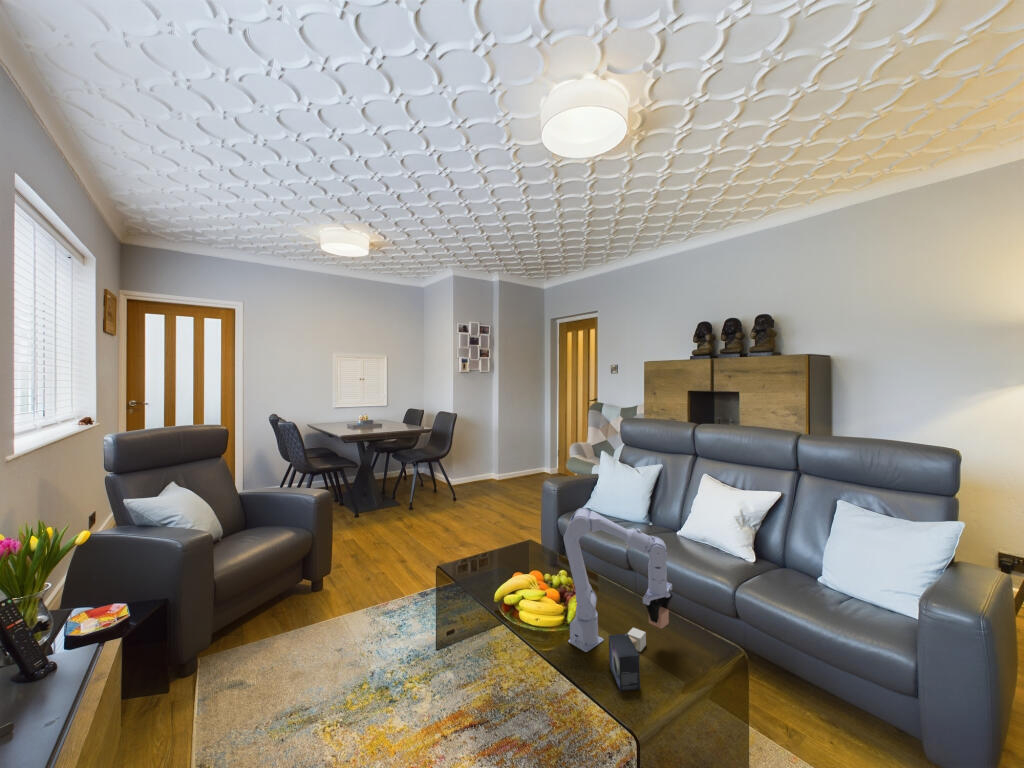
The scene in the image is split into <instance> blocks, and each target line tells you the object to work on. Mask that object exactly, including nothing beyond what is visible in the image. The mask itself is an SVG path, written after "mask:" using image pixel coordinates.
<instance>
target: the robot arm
mask: <svg viewBox="0 0 1024 768" xmlns="http://www.w3.org/2000/svg"><path fill="white" fill-rule="evenodd" d="M590 531H591V533H595V532H599V531H603V532H605V533H608V534H610V535H613V536H615V537H618V538H619V539H622V540H624V543H625V545H627V546H629V547H631V548H632V549H634V550H637V551H639V552H641V553H642V554H646V555H647V556H648V561H647V563H648V564H647V565H648V566H647V567H648V571H647V572H648V573H647V575H648V588H647V590H646V592H645V594H644V596H642V604H644V605H645V607H646V610H647V612H648V617H649V616H650V619H651V621H653V622H655V623H657V622H658V615H659V609H660V606H661V607H663V608H666V609H668V610H669V605H670V602H671V601H672V599H673V594H672V593H670V591H672V590H673V584H672V583H670V582H668V569H667V568H668V565H667V558H668V550H667V545H666V542H664V540H663V539H662V538H661V537H659V536H653V535H648V534H646V533H644V532H642V531H641V529H640V528H638V527H637V528H634V527H633V528H628V529H627V528H625V527H623V526H622V525H620V524H617V523H616V522H615V521H612V520H610V519H608V518H606V517H604V516H602V515H601V514H599V513H598V512H596V511H593V510H590V509H588V508H586V507H580V508H578V509H576V510H575V512H574V513H573V514H572V515H571V517H570V519H569V522H568V525H567V527H566V529H565V533H564V535H563V543H564V546H565V547H564V548H565V552H566V555H567V556H566V557H567V559H568V563H569V567H570V572H571V575H572V576H571V577H572V580H573V585H574V587H575V588H574V589H575V600H576V608H575V617H574V618H573V620H572V621H571V622H570V623H569V639H568V640H567V641H568V643H569V644H571V645H573V646H574V647H576V648H578V649H579V650H581V651H583V652H585V653H588V652H589V651H591V650H592V649H594V648H595V647H596V646H598V645H600V644H601V643H603V642H604V638H603V637H601V636H599V619H598V618H599V617H598V616H599V615H598V610H597V609H596V606H597V602H598V597H597V595H596V593H595V591H594V590H593V588H592V585H591V584H590V581H589V578H588V573H587V569H586V564H585V562H584V557H583V553H582V549H581V544H580V539H581V538H582V537H583V536H585V535H587V534H588V533H589V532H590Z"/></svg>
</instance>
